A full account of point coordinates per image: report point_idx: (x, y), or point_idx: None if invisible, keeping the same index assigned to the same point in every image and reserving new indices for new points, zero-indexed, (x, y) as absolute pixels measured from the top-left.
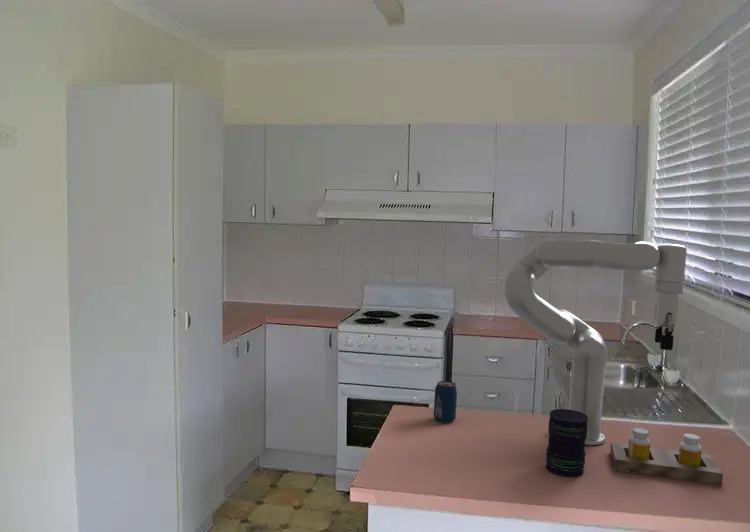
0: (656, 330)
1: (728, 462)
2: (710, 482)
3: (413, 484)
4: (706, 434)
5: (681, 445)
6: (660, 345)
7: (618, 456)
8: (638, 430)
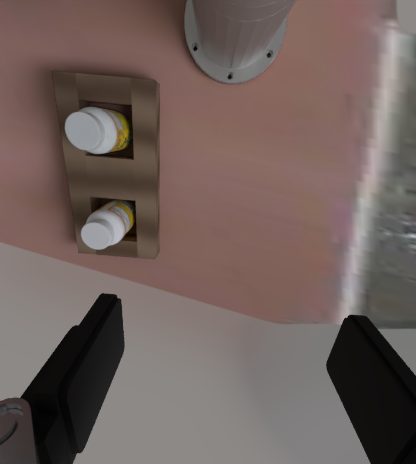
0: (413, 408)
1: (182, 279)
2: None
3: None
4: (303, 286)
5: (97, 212)
6: (92, 307)
7: (71, 80)
8: (81, 125)
